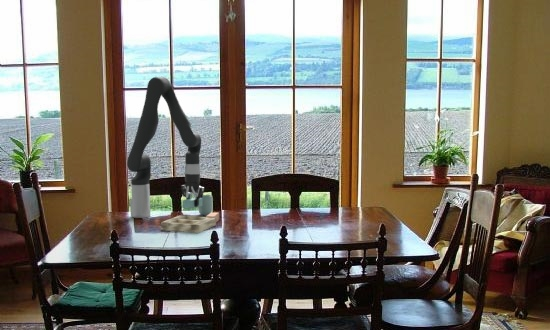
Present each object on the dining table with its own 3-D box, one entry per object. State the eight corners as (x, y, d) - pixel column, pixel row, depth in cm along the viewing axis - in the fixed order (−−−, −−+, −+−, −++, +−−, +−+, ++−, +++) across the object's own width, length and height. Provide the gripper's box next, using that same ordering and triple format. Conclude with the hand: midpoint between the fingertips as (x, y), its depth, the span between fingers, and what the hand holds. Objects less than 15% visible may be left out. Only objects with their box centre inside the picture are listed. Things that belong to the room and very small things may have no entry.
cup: (214, 213, 295) (213, 195, 294) (211, 216, 287) (210, 197, 286) (200, 213, 296) (199, 194, 295) (196, 216, 288) (196, 197, 287)
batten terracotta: (214, 224, 268) (214, 216, 268) (206, 224, 269) (206, 216, 268) (219, 220, 278) (218, 212, 278) (211, 220, 279) (211, 212, 278)
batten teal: (188, 209, 272) (188, 201, 272) (182, 208, 275) (182, 200, 274) (202, 206, 280) (202, 198, 280) (196, 205, 283) (196, 197, 282)
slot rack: (161, 229, 257) (161, 222, 256) (180, 222, 273) (179, 215, 272) (198, 232, 250) (198, 225, 249) (215, 225, 266) (215, 217, 265)
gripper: (176, 172, 275) (176, 205, 278) (199, 174, 268) (199, 208, 270) (186, 170, 282) (186, 203, 284) (208, 172, 275) (208, 206, 277)
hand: (192, 205), depth 277 cm, fingers closed on batten teal, 4 cm apart
